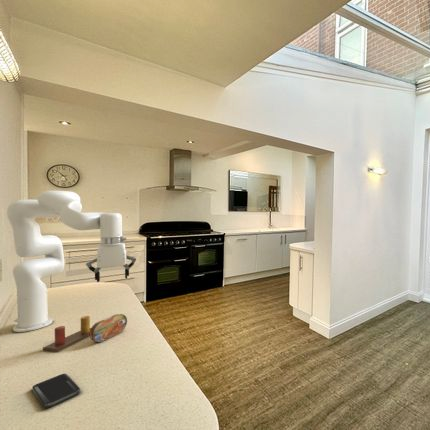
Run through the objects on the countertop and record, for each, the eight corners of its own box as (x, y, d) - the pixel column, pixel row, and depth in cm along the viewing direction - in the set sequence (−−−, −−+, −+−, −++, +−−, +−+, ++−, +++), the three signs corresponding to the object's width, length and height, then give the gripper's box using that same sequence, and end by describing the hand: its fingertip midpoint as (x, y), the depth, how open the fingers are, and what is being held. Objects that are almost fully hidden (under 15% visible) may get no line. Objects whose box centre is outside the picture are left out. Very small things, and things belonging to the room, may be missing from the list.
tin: (94, 346, 108) (93, 325, 108) (87, 345, 109) (87, 325, 108) (127, 329, 123) (127, 311, 122) (122, 328, 123) (122, 310, 123)
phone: (45, 406, 74) (31, 385, 82) (45, 409, 74) (31, 389, 82) (81, 389, 81) (65, 372, 89) (81, 393, 81) (65, 375, 89)
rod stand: (42, 350, 104) (42, 331, 104) (86, 330, 121) (86, 313, 121) (57, 351, 103) (57, 332, 103) (99, 331, 120) (99, 314, 120)
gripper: (135, 238, 124) (136, 274, 124) (86, 241, 113) (87, 280, 114) (135, 240, 117) (136, 278, 118) (84, 243, 107) (85, 285, 108)
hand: (112, 279), depth 116 cm, fingers open, 9 cm apart
